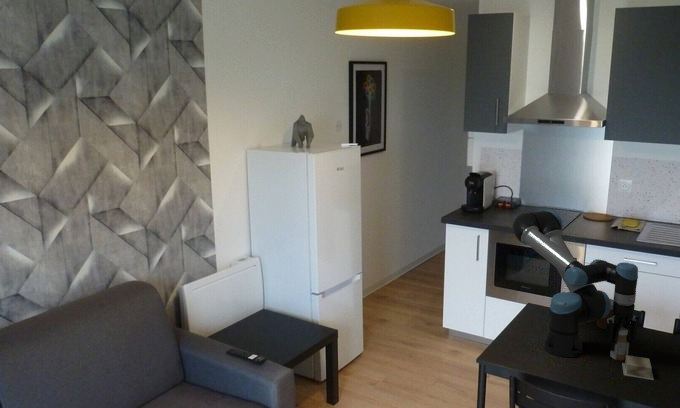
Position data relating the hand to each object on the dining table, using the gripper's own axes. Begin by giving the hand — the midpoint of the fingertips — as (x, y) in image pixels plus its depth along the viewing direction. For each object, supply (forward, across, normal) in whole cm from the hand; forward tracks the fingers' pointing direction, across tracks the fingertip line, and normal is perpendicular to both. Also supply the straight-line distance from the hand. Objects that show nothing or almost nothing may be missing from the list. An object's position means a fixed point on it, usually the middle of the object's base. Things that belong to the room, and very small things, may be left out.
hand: (618, 356), depth 228 cm
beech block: (0, 0, -11) cm, 11 cm away
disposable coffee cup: (+1, +15, +29) cm, 32 cm away
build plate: (+1, 0, -11) cm, 11 cm away
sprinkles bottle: (+1, 0, 0) cm, 1 cm away
